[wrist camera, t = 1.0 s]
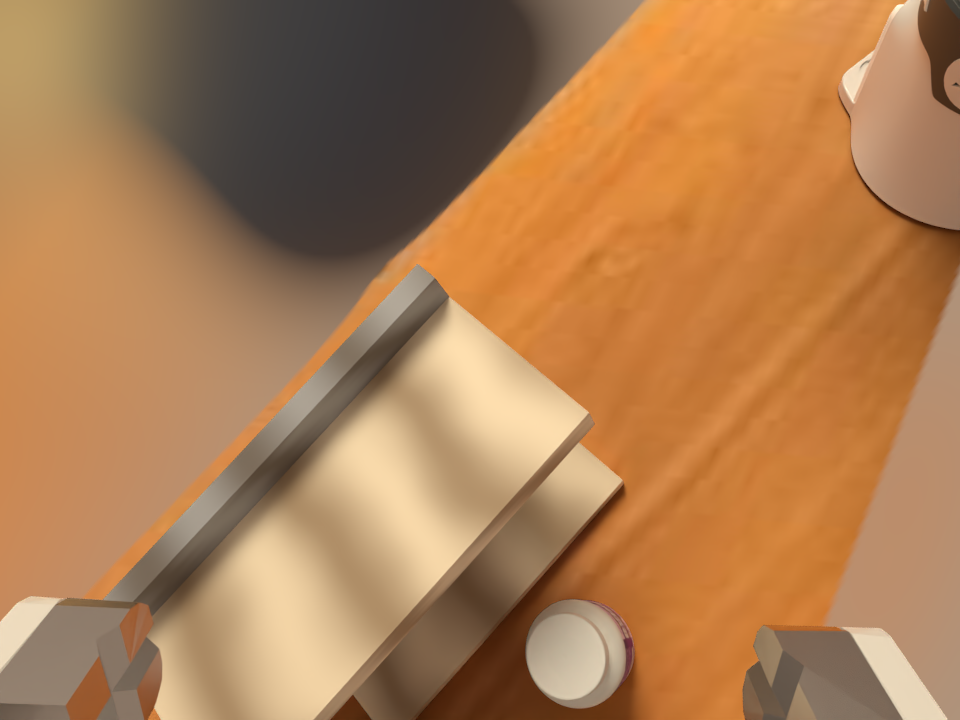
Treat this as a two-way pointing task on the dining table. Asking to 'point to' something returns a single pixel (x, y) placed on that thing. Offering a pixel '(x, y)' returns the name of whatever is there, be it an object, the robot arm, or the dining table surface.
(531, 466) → the small wooden shelf
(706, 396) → the dining table surface
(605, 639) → the pill bottle
